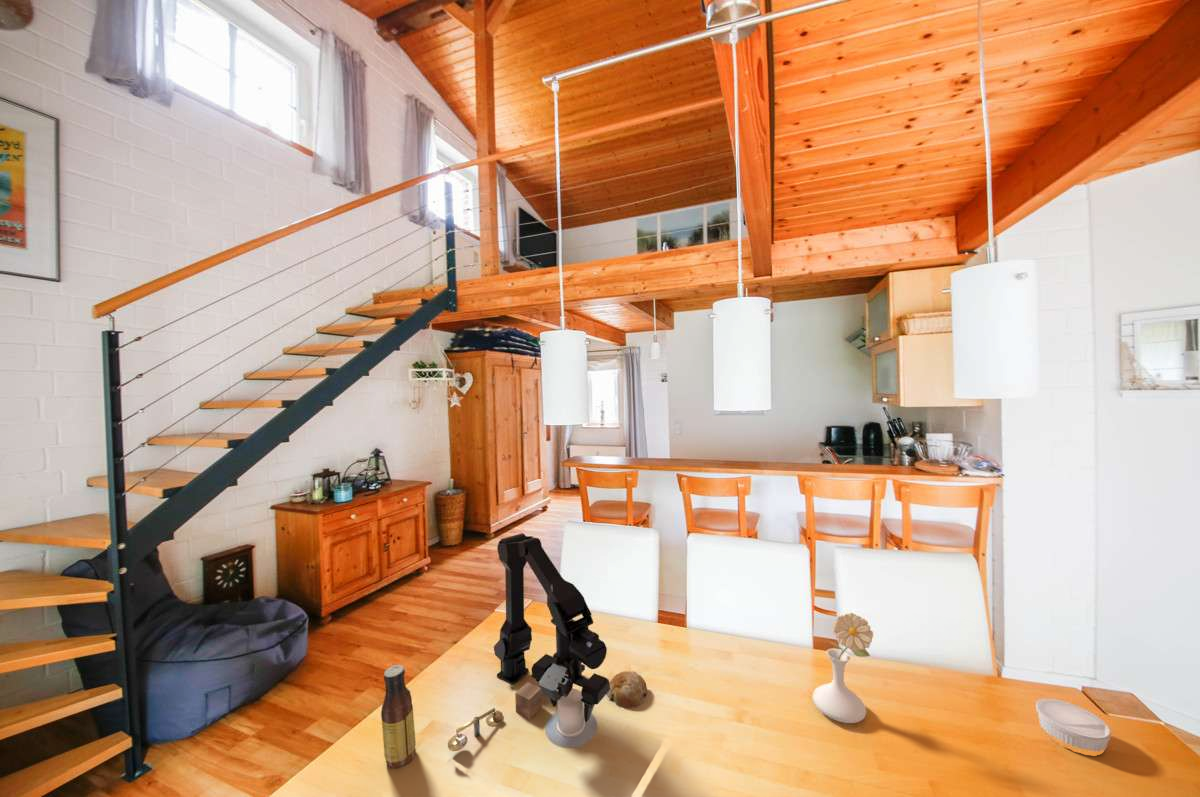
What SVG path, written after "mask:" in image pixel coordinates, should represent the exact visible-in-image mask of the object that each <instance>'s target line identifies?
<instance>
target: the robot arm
mask: <svg viewBox="0 0 1200 797" xmlns="http://www.w3.org/2000/svg"><path fill="white" fill-rule="evenodd" d="M496 550H497V554H498V560H499V561H500V562H501V564H502V566H504V568H505V570H504V571H505V620H504V623H502V625H501V627H500V630H499V639H498V641H497V642H496V643H495V644H494V646H493V651H494V655H495V657H496V658H498V660H499V661H500V671H499V672H498V673H497V674H496V677H497V678H499V679H501V680H504V681H506V682H507V683H510V684H512V685H513V684H516V683H517V682H518V681H519V680H520V679H521V678H523V677H524V676H525V675H526V674H527V673H529V670H530V669H529V668H528V667H526V666H527V665H526V659H525V652H526V651H529V650H530V649H531V648H530V647H531V643H532V641H533V638H532V637H533V636H532V631H533V630H532V629H533V628H532V627H531V626H530V625H529V624H528V622H527V621H526V619H525V585H524V584H525V583H524V582H525V576H524V573H525V571H524V570H525V566H526V564H528V566H529V567H530V569H531V571H532V573H533V574H534V575H535V576H536V577H535V578H536V579H537V580H538V581H539V583H540V585H541V586H542V588H543V590H544V591H545V594H546V606H547V608H548V610H549V612H550V613H549V614H550V616H551V619H550V623H551V624H552V625H554V626H555V642H556V644H555V648H556V650H555V652H554V654H553V655H550V654H548V653H544V655H543V656H541V657H540V658H539V659H538V660H537V661H535V662H534V663H533V664H532V666H531V678H533V679H535V681H536V682H537V683H538V685H539V687H540V688H541V691H542V695H543V697H547V698H549V700H550V702H551V705H552V707H553V708H555V707H556V706H558V703H557V701H558V700H559V699H560V698H561V697H562V696H565V697H567V696H568V695H569V693H570V691H571V690H572V689H574V688H573V686H574V685H575V686H578V687H580V688H581V696H582V697H583V698H582V699H581V701H582V702H583V704H584V718H585V722H587V721H588V720H589V718H590V715H591V713H592V712H593V711H594V707H595V705H599V703H600V702H601V701H602V700H603V699H604V697H605V696H607V693H608V691H609V690H610V679H608V678H607V677H605V676H603V675H600V674H598V673H595V672H593V674H592V675H591V676H590V677H589V676H586V675H583V672H584V671H585V670H586V667H587V668H588V669H590V670H596V669H598V668H600V667H601V665H602V664H603V662H604V661H605V660H606V657H607V653H608V649H607V645H606V643H605V641H603V640H601V639H600V635H599V634H598V633H597V632H594V631H592V630H590V629H589V626H591V625H593V624H594V619H593V617H592V612H591V611H590V608H589V607H588V604H587V602H586V599H585V597H584V595H583V593H581V591H580V590H579V589H578V588H577V587H576V586H575V584H574V583H572V582H569V581H567V580H565V579H564V578H563V576H562V575H561V573H560V572H559V571H558V569H557V567H556V566H555V564H554V563H553V561H552V560H551V559H550V557H549V556H548V554H547V553H546V552H547V551H545V549H544V548H543V546H542V542H541V539H540V538H539V537H534V535H527V536H526V534H525V533H522V532H521V533H518V534H514V535H511V536H507V537H503V538H501V539H500V541H498V544H497V549H496ZM580 616H582V617H581V618H579V619H577V620H575V618H577V617H580ZM592 714H593V713H592Z"/></svg>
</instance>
